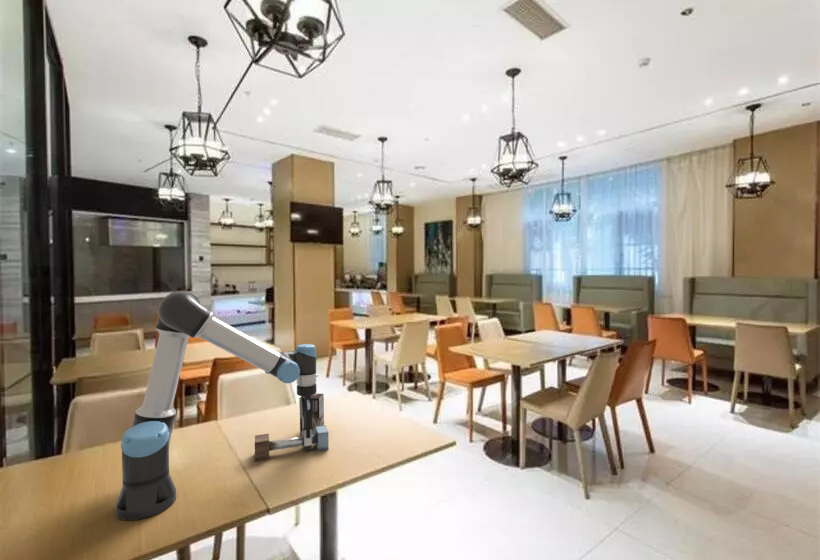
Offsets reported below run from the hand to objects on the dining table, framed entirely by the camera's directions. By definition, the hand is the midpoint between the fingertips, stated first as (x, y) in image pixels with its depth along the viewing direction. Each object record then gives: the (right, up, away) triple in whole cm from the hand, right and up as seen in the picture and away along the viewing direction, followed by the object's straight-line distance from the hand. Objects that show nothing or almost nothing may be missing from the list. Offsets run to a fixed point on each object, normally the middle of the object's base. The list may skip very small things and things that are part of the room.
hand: (307, 442), depth 153 cm
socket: (+5, -3, +2) cm, 6 cm away
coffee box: (-2, -3, +16) cm, 17 cm away
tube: (-5, -3, -2) cm, 6 cm away
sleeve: (-16, -3, -6) cm, 17 cm away
